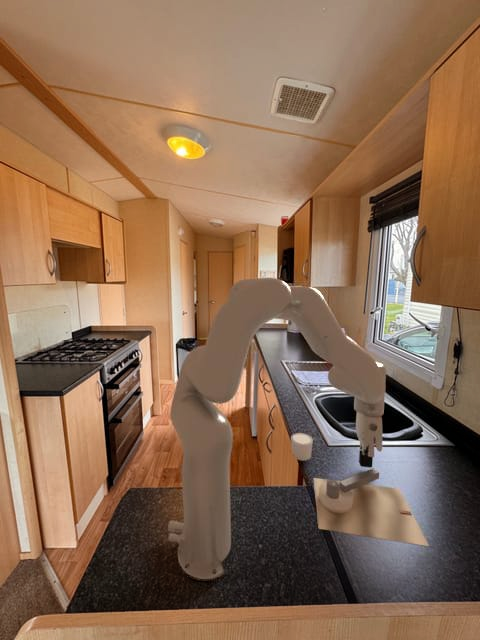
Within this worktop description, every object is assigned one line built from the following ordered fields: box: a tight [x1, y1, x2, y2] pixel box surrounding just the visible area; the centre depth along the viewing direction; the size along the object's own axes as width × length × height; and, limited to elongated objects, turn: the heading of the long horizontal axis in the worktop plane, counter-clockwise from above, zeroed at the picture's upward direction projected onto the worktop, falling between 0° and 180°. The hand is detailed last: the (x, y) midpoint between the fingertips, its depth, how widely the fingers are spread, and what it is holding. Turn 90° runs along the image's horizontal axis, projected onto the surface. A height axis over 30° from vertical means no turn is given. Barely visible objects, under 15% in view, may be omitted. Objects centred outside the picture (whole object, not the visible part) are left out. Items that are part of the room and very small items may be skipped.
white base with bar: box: [319, 467, 380, 514], centre depth 69 cm, size 18×8×5 cm, turn 114°
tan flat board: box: [313, 477, 430, 547], centre depth 65 cm, size 22×16×2 cm
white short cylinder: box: [290, 432, 314, 461], centre depth 85 cm, size 7×7×7 cm
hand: (365, 465), depth 78 cm, fingers closed
